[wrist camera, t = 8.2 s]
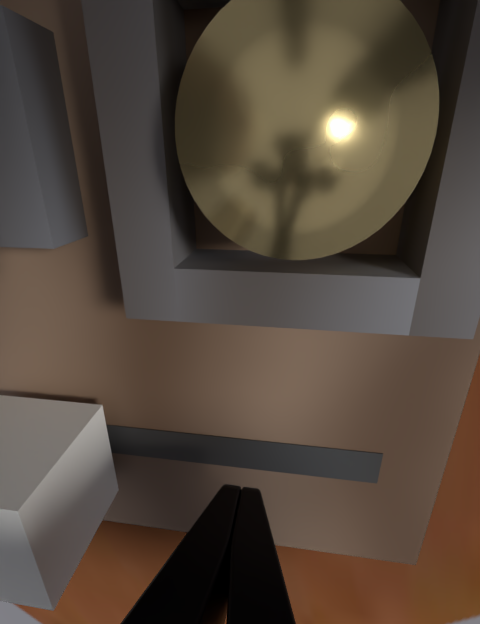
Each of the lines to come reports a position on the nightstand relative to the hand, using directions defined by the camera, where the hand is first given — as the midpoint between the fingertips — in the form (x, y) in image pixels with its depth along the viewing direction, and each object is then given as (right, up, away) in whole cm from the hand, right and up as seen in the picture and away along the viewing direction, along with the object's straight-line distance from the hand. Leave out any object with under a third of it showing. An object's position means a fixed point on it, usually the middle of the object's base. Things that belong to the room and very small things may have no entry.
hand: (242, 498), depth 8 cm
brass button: (+1, +7, -2) cm, 7 cm away
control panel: (-1, +4, +2) cm, 5 cm away
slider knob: (-5, +1, +2) cm, 6 cm away
